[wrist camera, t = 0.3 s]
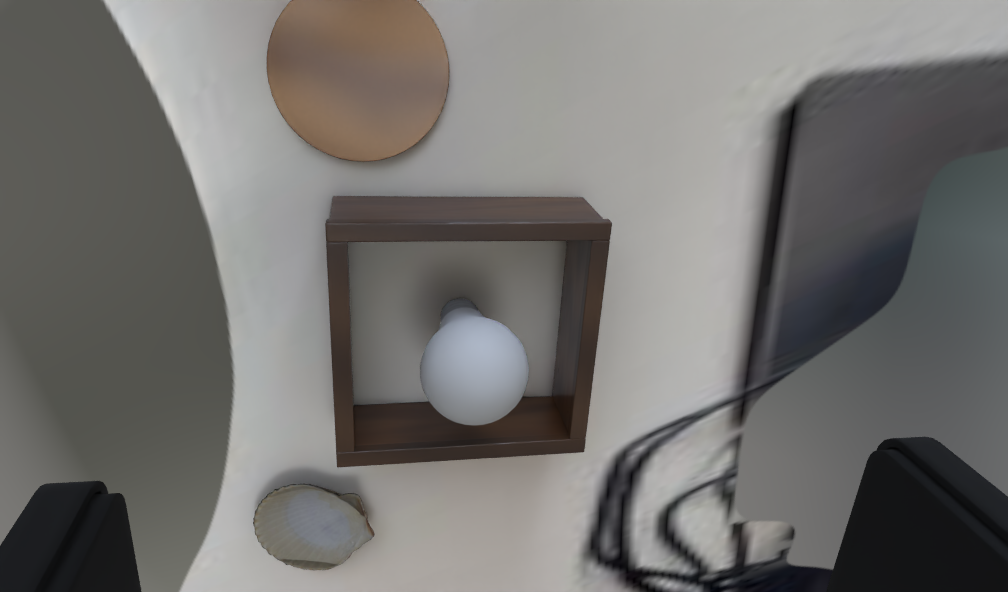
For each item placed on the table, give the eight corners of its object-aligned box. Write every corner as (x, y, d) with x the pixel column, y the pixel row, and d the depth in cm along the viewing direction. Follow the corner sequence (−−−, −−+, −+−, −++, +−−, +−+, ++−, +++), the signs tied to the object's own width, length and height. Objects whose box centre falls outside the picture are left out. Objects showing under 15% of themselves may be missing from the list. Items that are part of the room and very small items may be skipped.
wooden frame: (330, 193, 43) (325, 222, 38) (585, 194, 46) (612, 222, 41) (339, 417, 49) (337, 467, 44) (563, 406, 52) (584, 452, 47)
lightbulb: (452, 367, 49) (474, 466, 39) (392, 308, 47) (399, 399, 37) (521, 312, 48) (561, 399, 39) (463, 249, 46) (491, 326, 36)
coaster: (260, -31, 37) (259, -31, 37) (450, -20, 39) (451, -20, 39) (274, 158, 41) (273, 160, 41) (446, 161, 43) (447, 162, 43)
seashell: (255, 470, 52) (276, 568, 54) (238, 490, 49) (261, 594, 51) (366, 458, 51) (384, 557, 53) (356, 477, 49) (376, 582, 50)
